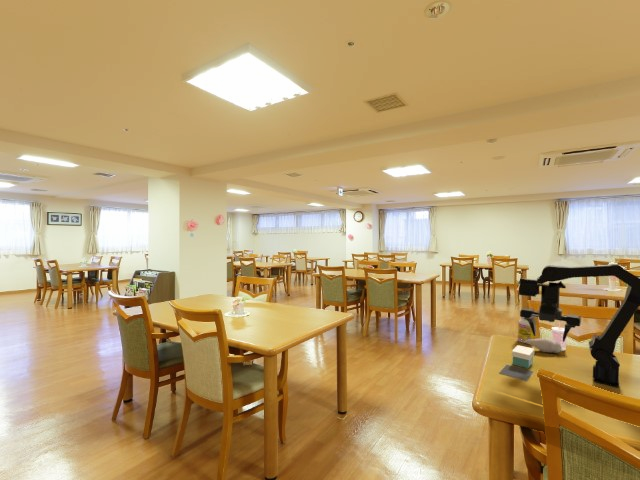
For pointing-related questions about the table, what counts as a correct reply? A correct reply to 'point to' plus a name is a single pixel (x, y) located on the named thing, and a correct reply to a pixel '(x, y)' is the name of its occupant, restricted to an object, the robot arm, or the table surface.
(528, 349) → the lid
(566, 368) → the table surface
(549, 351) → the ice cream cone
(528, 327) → the supplement bottle
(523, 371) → the mat
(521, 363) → the teal open box
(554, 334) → the beverage cup
